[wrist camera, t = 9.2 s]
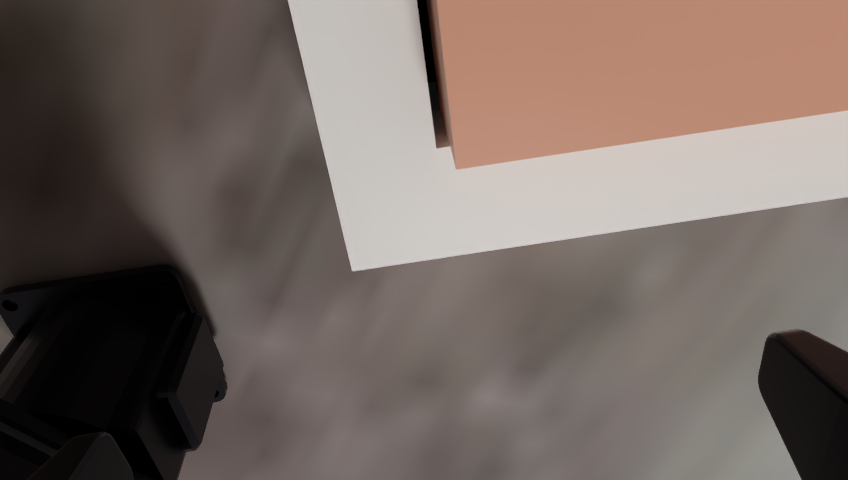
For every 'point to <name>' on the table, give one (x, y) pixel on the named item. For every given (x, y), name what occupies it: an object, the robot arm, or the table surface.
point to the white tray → (523, 179)
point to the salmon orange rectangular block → (628, 70)
